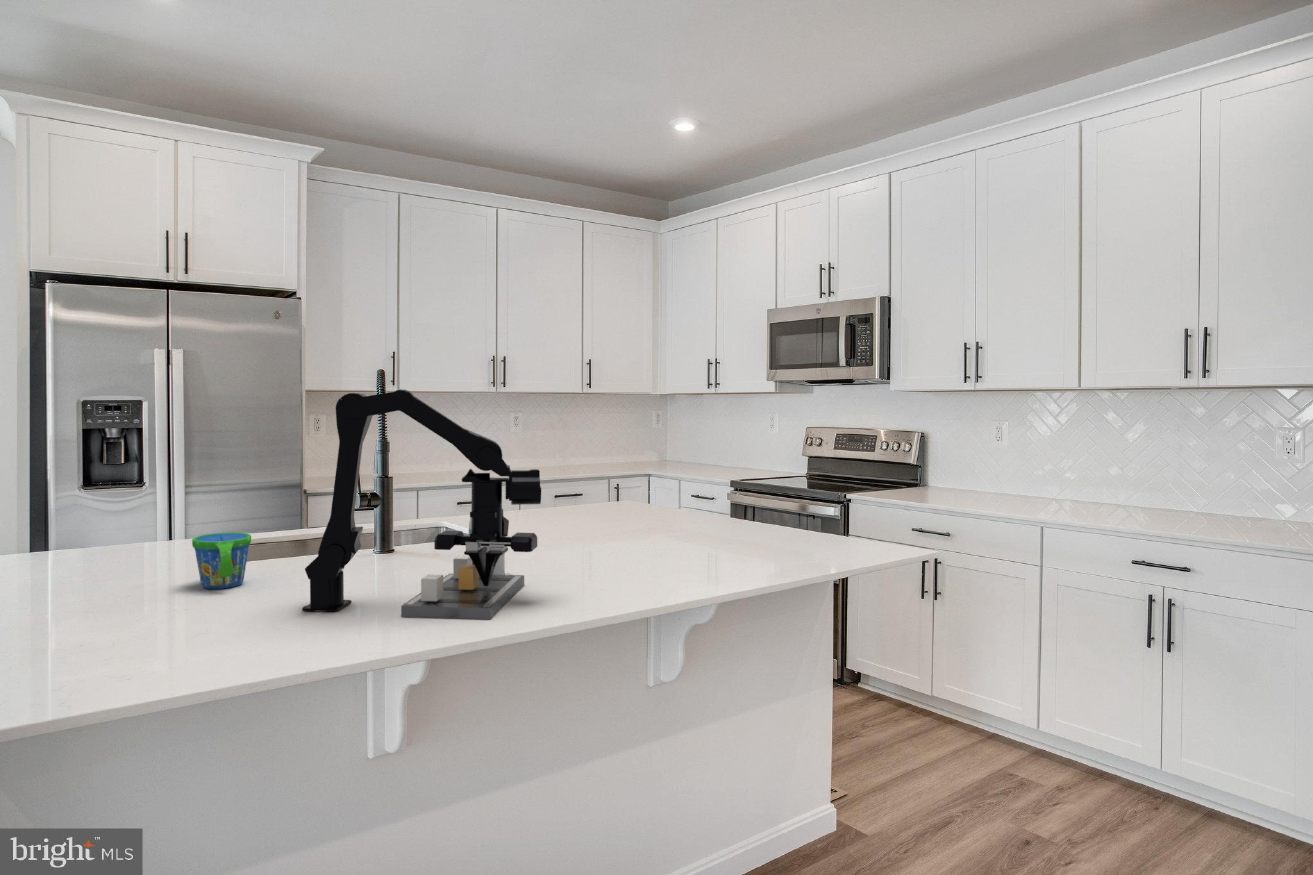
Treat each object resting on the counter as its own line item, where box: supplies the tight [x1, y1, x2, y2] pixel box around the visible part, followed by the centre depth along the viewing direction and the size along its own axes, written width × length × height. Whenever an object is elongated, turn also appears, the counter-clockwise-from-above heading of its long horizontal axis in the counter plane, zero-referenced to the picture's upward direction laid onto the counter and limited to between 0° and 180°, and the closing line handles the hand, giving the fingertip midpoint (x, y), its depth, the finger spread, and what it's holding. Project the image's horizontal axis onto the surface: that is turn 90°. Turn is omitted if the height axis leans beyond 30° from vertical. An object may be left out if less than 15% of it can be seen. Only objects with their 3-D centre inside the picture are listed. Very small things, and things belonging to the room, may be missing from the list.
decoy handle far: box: [452, 554, 472, 578], centre depth 159 cm, size 4×3×4 cm
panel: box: [400, 573, 525, 620], centre depth 150 cm, size 26×16×2 cm, turn 177°
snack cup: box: [191, 532, 252, 590], centre depth 159 cm, size 16×10×10 cm
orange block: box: [459, 565, 478, 590], centre depth 150 cm, size 4×3×4 cm
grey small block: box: [420, 573, 444, 601], centre depth 141 cm, size 4×3×4 cm
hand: (486, 585), depth 150 cm, fingers closed
